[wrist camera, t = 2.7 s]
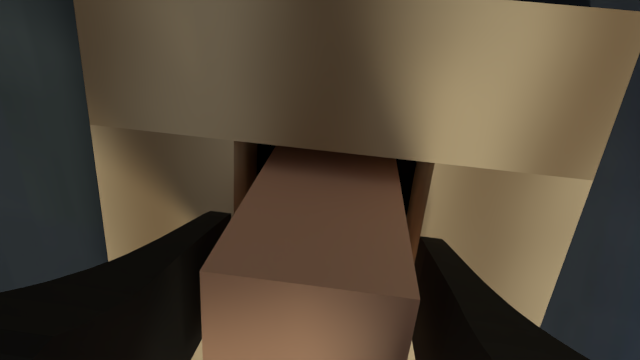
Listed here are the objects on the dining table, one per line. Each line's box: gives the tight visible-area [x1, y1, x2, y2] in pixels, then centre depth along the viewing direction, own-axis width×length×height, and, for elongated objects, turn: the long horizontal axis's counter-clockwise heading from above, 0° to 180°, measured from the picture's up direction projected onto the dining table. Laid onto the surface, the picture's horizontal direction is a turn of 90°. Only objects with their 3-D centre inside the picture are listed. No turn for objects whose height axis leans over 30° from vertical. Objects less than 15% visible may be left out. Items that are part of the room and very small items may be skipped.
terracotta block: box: [200, 145, 420, 360], centre depth 12 cm, size 4×4×8 cm
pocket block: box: [73, 0, 640, 360], centre depth 14 cm, size 14×14×3 cm
